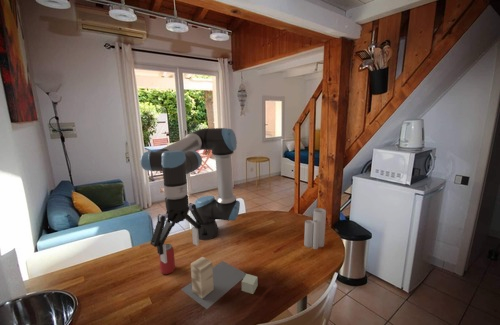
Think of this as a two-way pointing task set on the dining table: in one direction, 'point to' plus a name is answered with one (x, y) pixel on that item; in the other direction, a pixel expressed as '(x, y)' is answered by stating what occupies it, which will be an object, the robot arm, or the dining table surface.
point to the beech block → (202, 277)
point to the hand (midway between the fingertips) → (181, 252)
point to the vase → (315, 229)
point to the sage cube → (249, 283)
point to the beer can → (168, 261)
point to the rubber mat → (218, 284)
